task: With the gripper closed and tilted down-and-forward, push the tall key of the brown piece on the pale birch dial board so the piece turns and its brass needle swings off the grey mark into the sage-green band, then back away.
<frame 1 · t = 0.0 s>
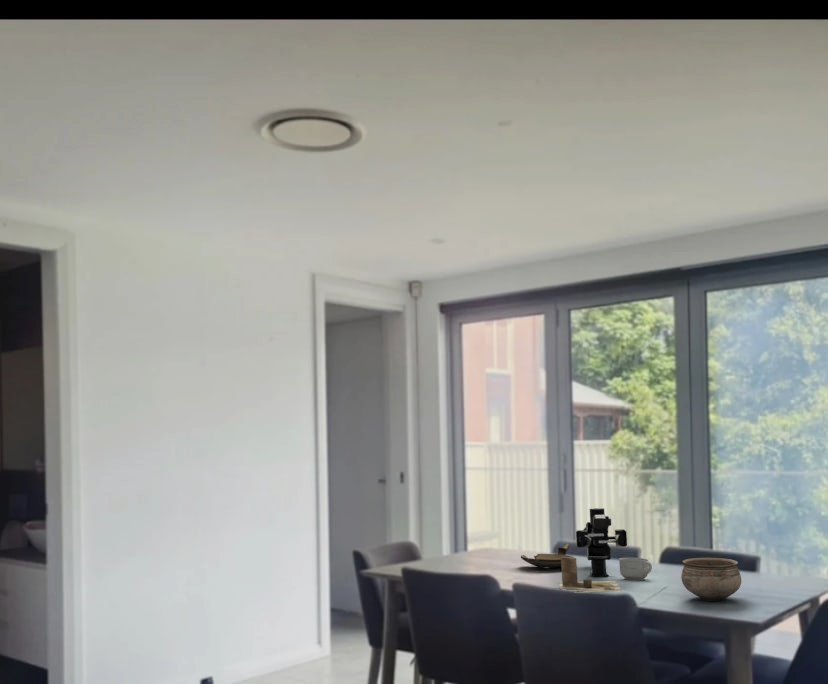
hand: (603, 541, 298), 17 cm above the table, tool horizontal, fingers open, 9 cm apart
brown piece: (585, 572, 292), point 6 cm above the table, hinge at 0.0°
cooking pot: (712, 599, 269), on the table
dial board: (589, 589, 293), on the table
oil lamp: (553, 567, 345), on the table
teacup: (637, 580, 307), on the table
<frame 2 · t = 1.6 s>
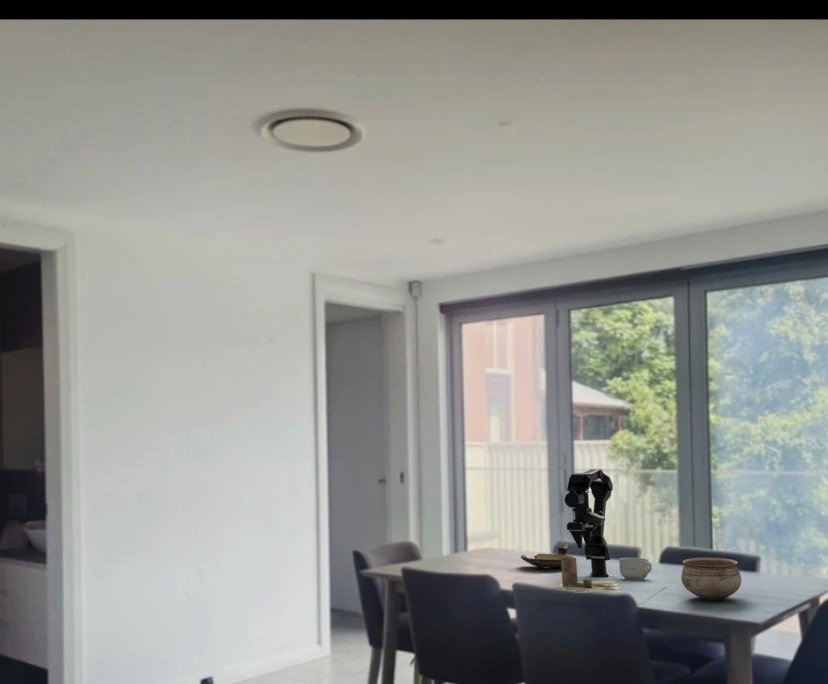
hand: (583, 547, 309), 13 cm above the table, tool pointing down, fingers open, 8 cm apart
nothing on the table moved.
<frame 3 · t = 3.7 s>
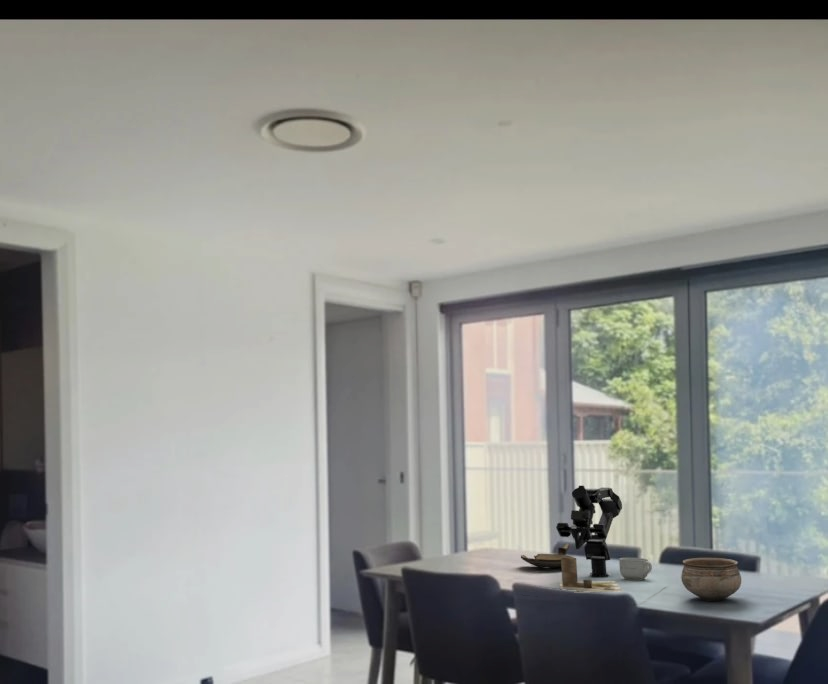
hand: (577, 548, 304), 13 cm above the table, tool tilted 45°, fingers closed
nothing on the table moved.
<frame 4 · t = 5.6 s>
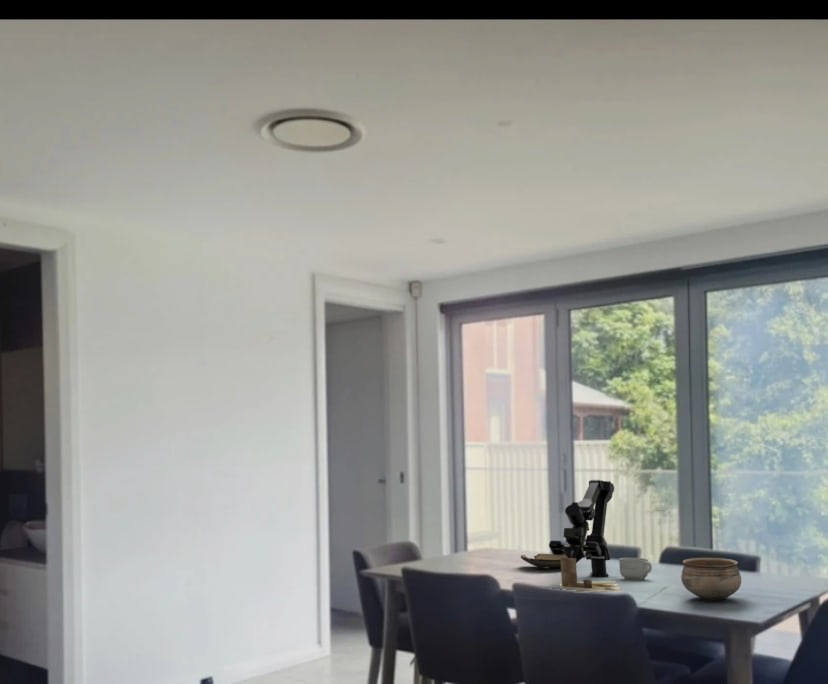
hand: (569, 567, 296), 8 cm above the table, tool tilted 45°, fingers closed, pressing on brown piece
brown piece: (585, 572, 292), point 6 cm above the table, hinge at 4.5°, touching gripper
everything else where it was.
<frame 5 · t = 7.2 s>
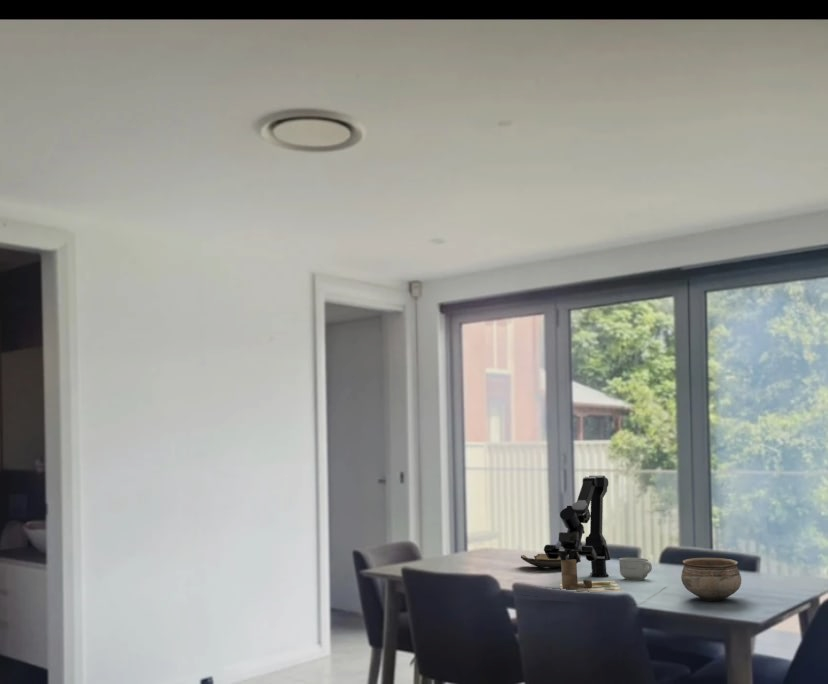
hand: (565, 572, 291), 7 cm above the table, tool tilted 45°, fingers closed
brown piece: (585, 572, 292), point 6 cm above the table, hinge at 42.4°, touching gripper
everything else where it was.
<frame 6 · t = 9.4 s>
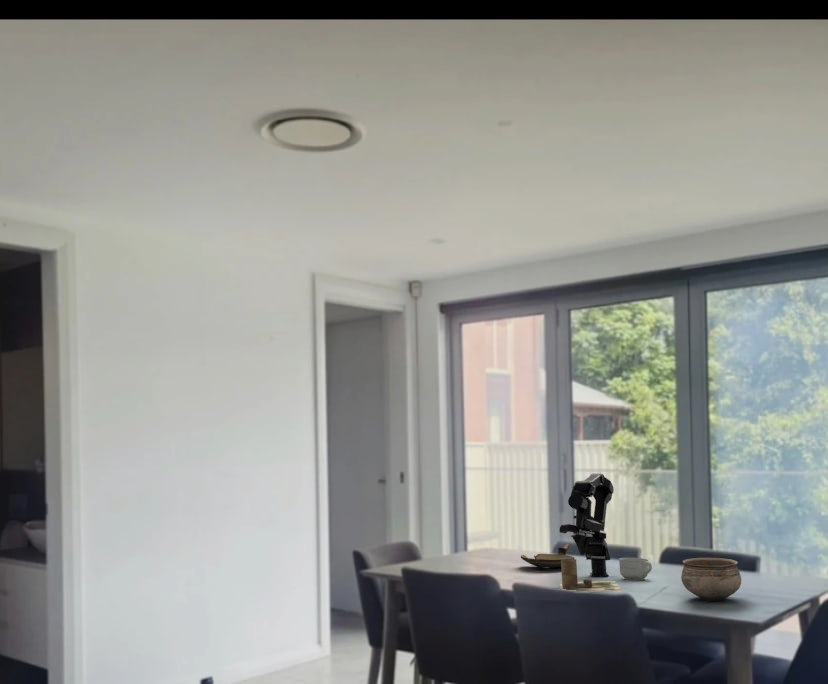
hand: (582, 555, 305), 11 cm above the table, tool tilted 15°, fingers closed
brown piece: (585, 572, 292), point 6 cm above the table, hinge at 42.4°
everything else where it was.
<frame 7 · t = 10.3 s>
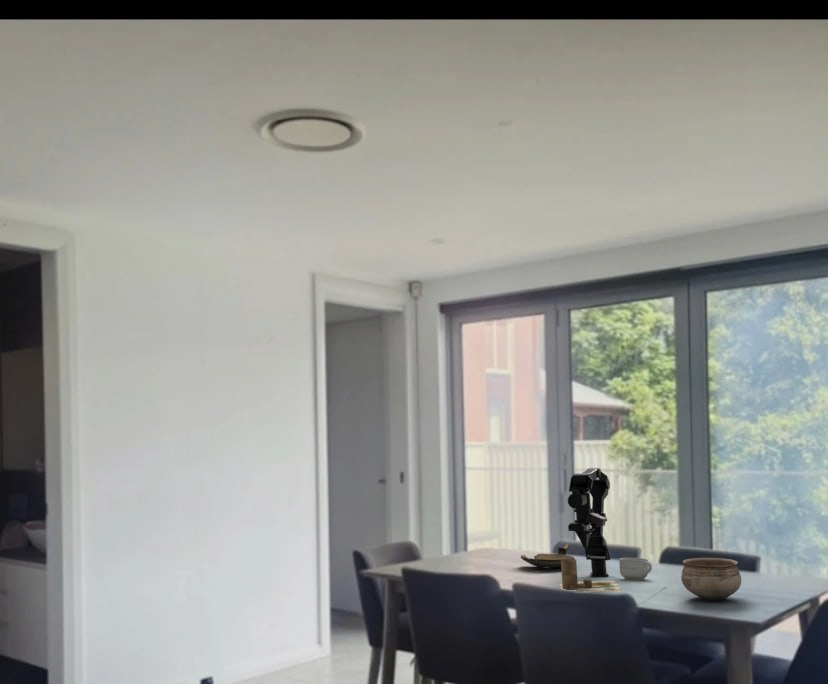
hand: (585, 547, 307), 13 cm above the table, tool pointing down, fingers closed
nothing on the table moved.
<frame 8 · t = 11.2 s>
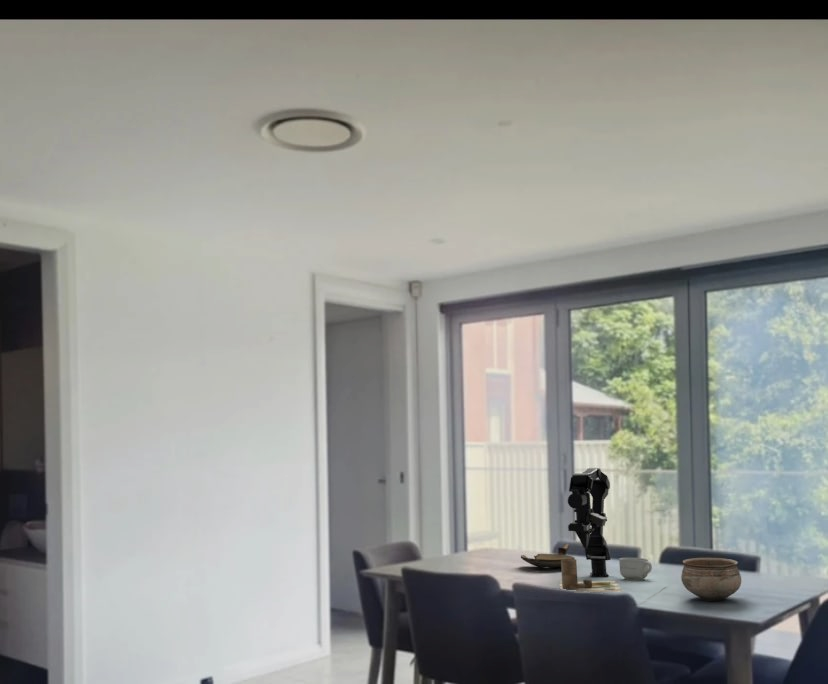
hand: (585, 547, 307), 13 cm above the table, tool pointing down, fingers closed
nothing on the table moved.
at the end: brown piece at +42° (first picture: +0°) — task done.
